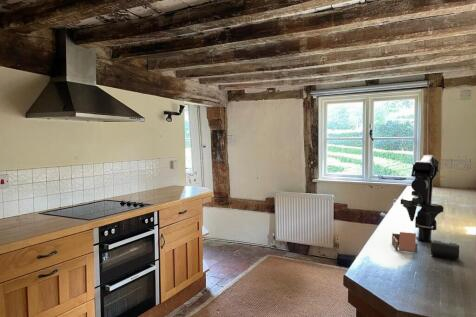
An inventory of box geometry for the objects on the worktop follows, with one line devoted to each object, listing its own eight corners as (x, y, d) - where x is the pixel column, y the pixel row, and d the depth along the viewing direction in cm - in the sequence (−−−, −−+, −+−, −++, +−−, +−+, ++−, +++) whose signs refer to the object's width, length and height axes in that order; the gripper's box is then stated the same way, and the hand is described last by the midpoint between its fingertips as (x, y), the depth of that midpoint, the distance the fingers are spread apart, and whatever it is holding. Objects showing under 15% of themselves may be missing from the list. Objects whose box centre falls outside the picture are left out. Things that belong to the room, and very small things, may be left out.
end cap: (430, 258, 141) (431, 242, 141) (430, 253, 147) (431, 238, 147) (458, 263, 136) (459, 246, 135) (457, 258, 142) (458, 242, 141)
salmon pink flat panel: (398, 250, 149) (399, 231, 149) (415, 252, 147) (416, 233, 147) (398, 251, 148) (399, 232, 148) (415, 253, 146) (416, 233, 146)
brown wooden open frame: (391, 243, 160) (392, 233, 160) (411, 245, 158) (412, 235, 157) (395, 250, 150) (396, 239, 149) (417, 252, 147) (417, 241, 147)
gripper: (391, 186, 154) (390, 219, 155) (424, 193, 136) (422, 230, 137) (411, 186, 157) (409, 218, 158) (445, 192, 139) (443, 229, 140)
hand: (419, 223), depth 148 cm, fingers open, 9 cm apart
